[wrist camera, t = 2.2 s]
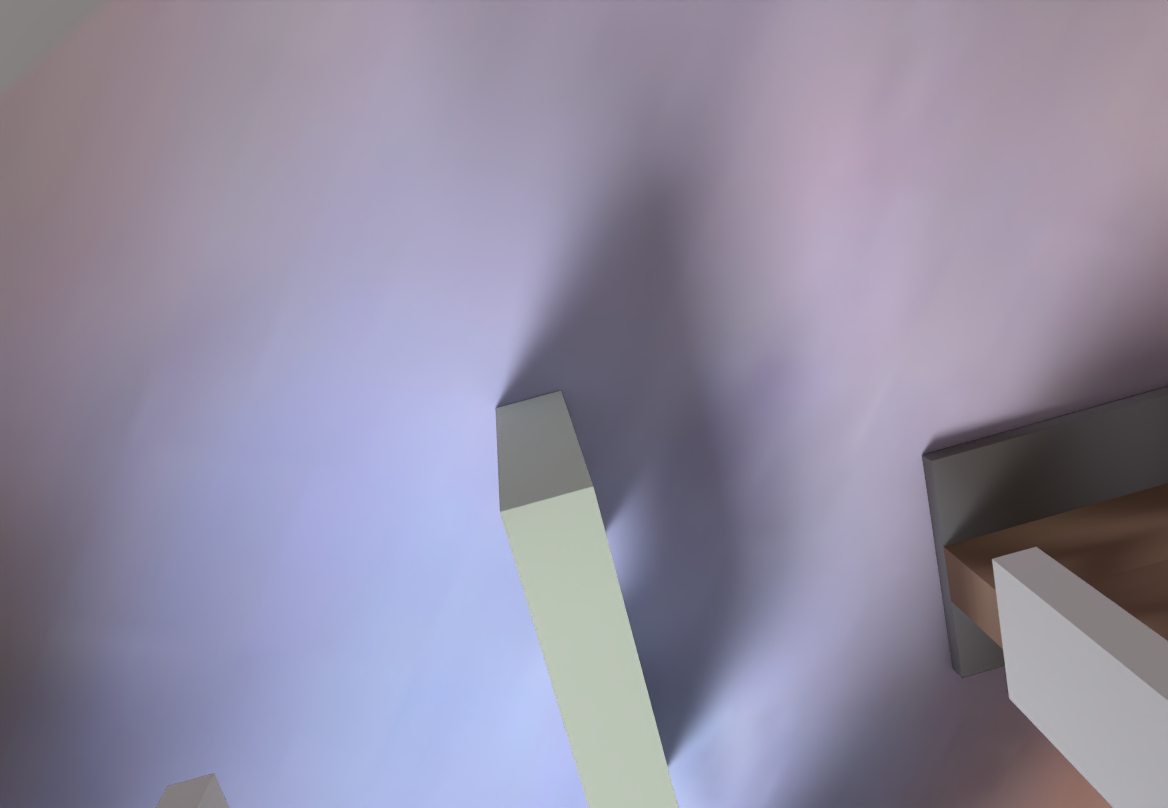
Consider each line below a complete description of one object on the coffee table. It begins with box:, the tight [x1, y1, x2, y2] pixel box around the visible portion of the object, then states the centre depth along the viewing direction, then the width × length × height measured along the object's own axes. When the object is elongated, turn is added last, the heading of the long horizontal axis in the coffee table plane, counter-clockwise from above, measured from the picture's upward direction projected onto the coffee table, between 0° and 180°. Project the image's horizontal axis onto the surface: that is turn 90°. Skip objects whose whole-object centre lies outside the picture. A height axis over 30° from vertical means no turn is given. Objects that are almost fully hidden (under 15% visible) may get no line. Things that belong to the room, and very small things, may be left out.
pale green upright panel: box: [496, 391, 678, 808], centre depth 24 cm, size 14×2×8 cm, turn 14°
